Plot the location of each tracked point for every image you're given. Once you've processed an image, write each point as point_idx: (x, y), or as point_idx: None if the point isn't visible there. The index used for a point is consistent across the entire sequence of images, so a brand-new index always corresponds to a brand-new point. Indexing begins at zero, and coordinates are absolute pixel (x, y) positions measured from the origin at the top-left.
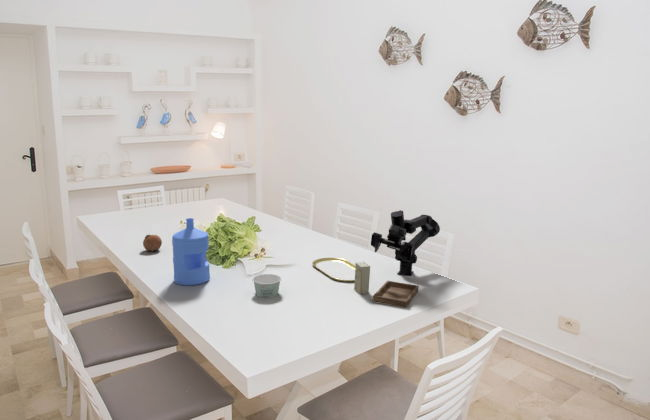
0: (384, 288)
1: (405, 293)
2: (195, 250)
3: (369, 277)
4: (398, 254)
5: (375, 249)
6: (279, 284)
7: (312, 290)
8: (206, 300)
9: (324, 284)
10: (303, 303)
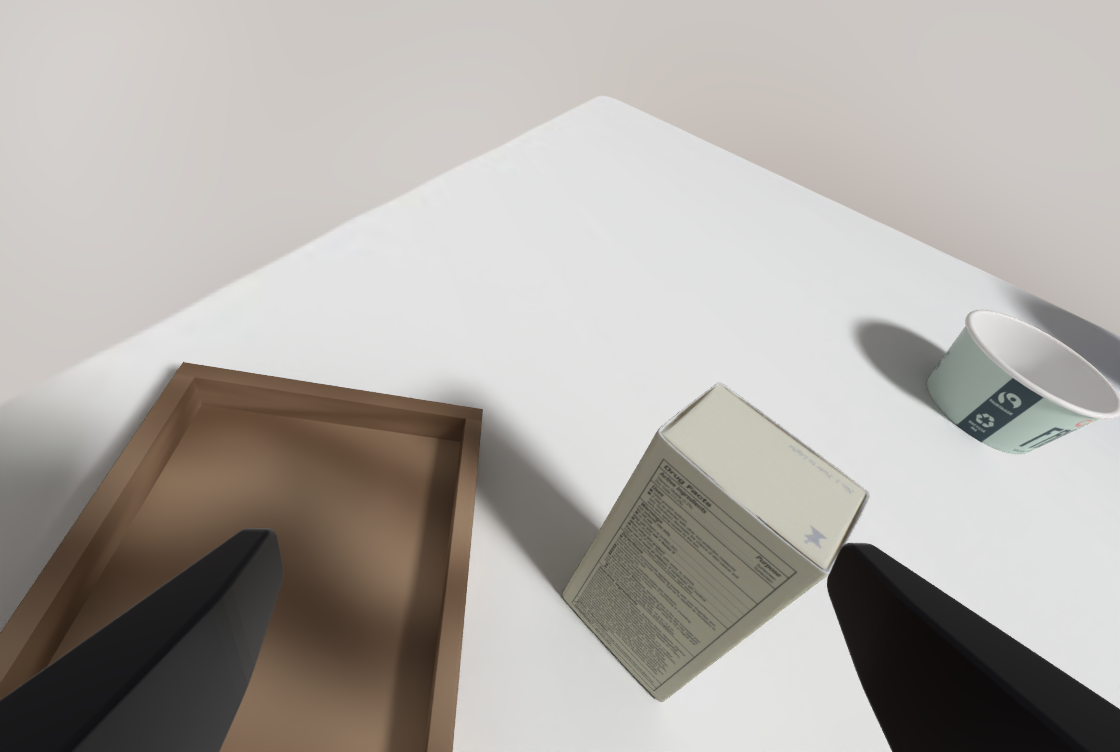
0: (429, 706)
1: None
2: None
3: (608, 515)
4: (128, 609)
5: (882, 558)
6: (983, 385)
7: (888, 504)
8: None
9: None
10: (778, 348)
